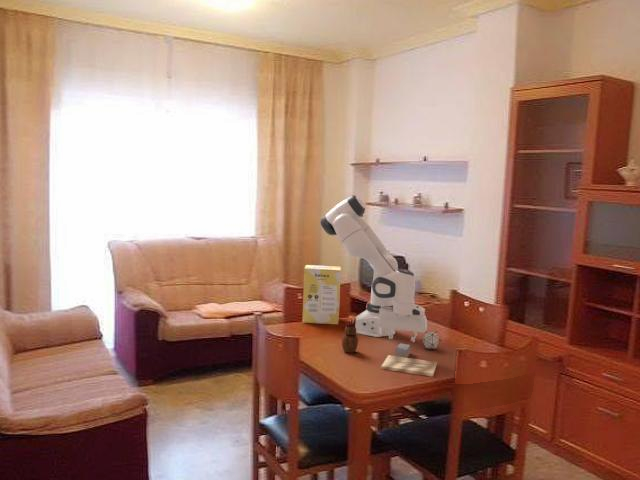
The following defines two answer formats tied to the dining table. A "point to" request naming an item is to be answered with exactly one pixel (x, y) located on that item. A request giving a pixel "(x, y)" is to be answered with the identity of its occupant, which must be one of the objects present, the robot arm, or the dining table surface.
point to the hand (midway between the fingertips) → (401, 340)
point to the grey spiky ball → (431, 340)
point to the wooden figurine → (350, 338)
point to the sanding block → (403, 350)
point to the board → (409, 365)
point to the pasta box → (321, 294)
